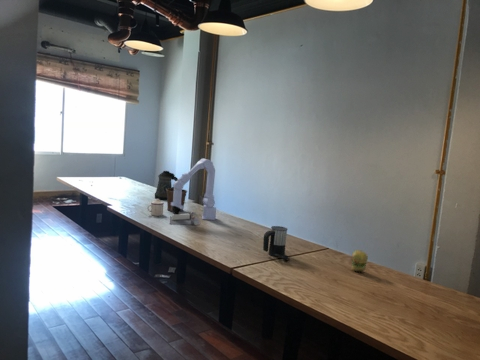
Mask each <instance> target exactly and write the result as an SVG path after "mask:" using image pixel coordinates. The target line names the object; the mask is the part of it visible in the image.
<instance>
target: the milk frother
mask: <svg viewBox="0 0 480 360" xmlns="http://www.w3.org/2000/svg"><path fill="white" fill-rule="evenodd" d="M270 228H271V229H270V230H267V231H266V232H265V233H264V234H263V242H262V243H263V247H262V248H263V249H262V250H263V252H268V255H270V256H272V257H280V258H281V259H282V260H284V261H286V262H288V260H290V257H289V256H288V255H286V244H287V235H288V234H287V233H288V227H284V226H278V225H271V227H270Z"/></svg>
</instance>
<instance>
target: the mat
mask: <svg viewBox="0 0 480 360" xmlns="http://www.w3.org/2000/svg"><path fill="white" fill-rule="evenodd" d="M194 217H195V216H194ZM200 224H201V223H200V221H199V217H195V220H194V225H193V226H201V225H200ZM169 225H176V226H177V225H183V226H192V225H191V219H179V220H172V215H171V216H170V217H169Z"/></svg>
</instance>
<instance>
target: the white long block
mask: <svg viewBox="0 0 480 360" xmlns="http://www.w3.org/2000/svg"><path fill="white" fill-rule="evenodd" d="M171 216H172V220H179V219H190V213H179V214H174V213H172V214H171Z"/></svg>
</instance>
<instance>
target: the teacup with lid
mask: <svg viewBox="0 0 480 360" xmlns="http://www.w3.org/2000/svg"><path fill="white" fill-rule="evenodd" d="M164 204H165V203H164V201H162V200H159V199H155V200H154V201H151V204H149V205H147V211H148V212H150V215H151V216H155V217H160V216H163V215H164ZM149 207H150V209H149Z"/></svg>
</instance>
